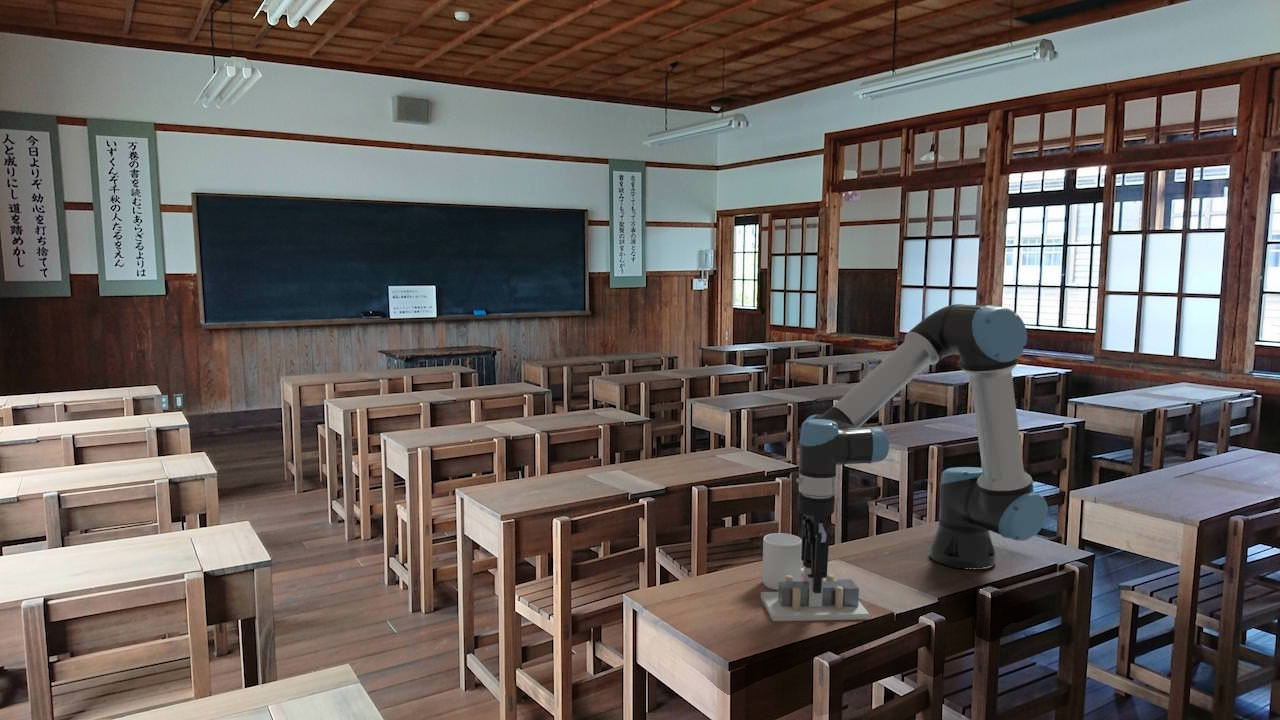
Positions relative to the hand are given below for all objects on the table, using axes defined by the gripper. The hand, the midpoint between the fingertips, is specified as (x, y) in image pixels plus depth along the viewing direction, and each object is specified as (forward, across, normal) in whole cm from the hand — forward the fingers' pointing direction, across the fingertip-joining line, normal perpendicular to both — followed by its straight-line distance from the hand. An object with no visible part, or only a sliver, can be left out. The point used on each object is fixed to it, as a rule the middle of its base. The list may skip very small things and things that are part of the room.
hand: (812, 601), depth 169 cm
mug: (+2, -14, -2) cm, 14 cm away
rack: (+2, 0, 0) cm, 2 cm away
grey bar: (0, 0, +1) cm, 1 cm away
